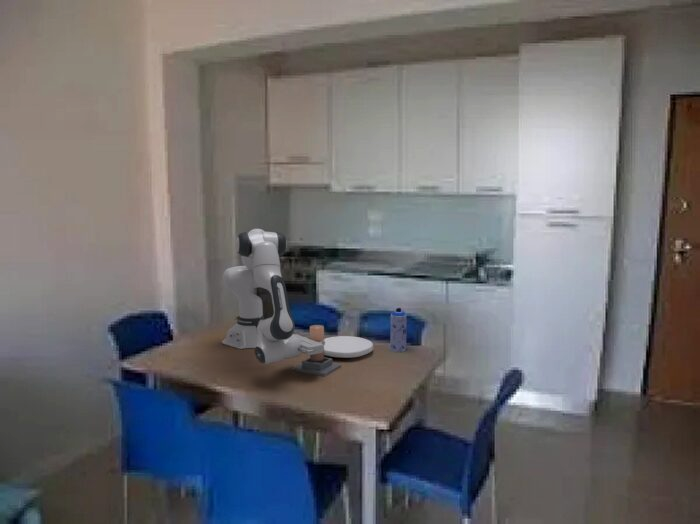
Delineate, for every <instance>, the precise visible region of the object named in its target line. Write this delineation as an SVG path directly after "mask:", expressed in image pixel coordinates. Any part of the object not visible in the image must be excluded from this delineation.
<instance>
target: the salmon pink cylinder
mask: <svg viewBox="0 0 700 524" xmlns="http://www.w3.org/2000/svg"><path fill="white" fill-rule="evenodd" d="M324 326H325V325H322V324H321V325H320V324H314V325H310V326H309V337H310V339H311V340H314V341H316V342H320V341H322V340H323V341H324V339H325V338H324V337H325V327H324ZM324 357H325V355H324V345H323V352H322V353H318V354H313V355H309V358H310V359H311V360H313V361H320V360H323V359H324Z"/></svg>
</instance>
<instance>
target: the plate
mask: <svg viewBox="0 0 700 524" xmlns="http://www.w3.org/2000/svg"><path fill="white" fill-rule="evenodd" d="M324 341H325V345H324V356H327V357H331V358H332V357H333V358H342V359H343V358H344V359H349V358H351V359H353V358H358V357H362V356H365V355H367V354H369V353H371V352H373V350H374V343H373V342H372V341H370V340H369V339H366V338H364V337H358V336H352V335H341V336H339V335H338V336H331V337H330V336H329V337H326V338H324Z"/></svg>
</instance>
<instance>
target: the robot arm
mask: <svg viewBox="0 0 700 524" xmlns="http://www.w3.org/2000/svg"><path fill="white" fill-rule="evenodd" d="M287 247H288V241H287V238H286V235H285V234H284V233H282V232H278V231H275V232H273V231H265V230H264V229H262V228H253V229H251V230H250V231H249V232H247V231H245V232H241V233H239V234H238V235H237V237H236V240H235V250H236V251H237V254H239V256H241V262H242V264H243V265H237V266H231V267H228V268H226V269H225V270H224V271H223V274H222V283H223V284H224V287H226V288H227V289H229V290H230V291H231V292H232V293H233V294H234V295H235V296H236V299H237V302H238V309H239V315H238V316H236V317H235V319H234V320H235V321H237V322H236V323H235V324H234V325H233V326H231V327H230V328H229V329H228V330H227V333H226V337H225V338H224V339H222V341H221V344H224V345H226V346H230V347H232V348H236V349H239V350H244V349H254V350H253V351H254V354H255V357H256V359H257V360H258V362H260V363H261V364H265V365H268V364H273V363H278V362H281V361H284V360H291V359H295V358H299V357H300V355H301V354H302V353H303V354H305V355H307V356H310V355H313V354H318V353H322V352H323V345H325V341H323V340H322V341H320V342H316V341H314V340H311V339H310V336H302V335H300V334H297V333H296V334H295V333H294V332H295V329H296V327H295V326H296V325H295V321H294V319H293V317H292V314H291V310H290V305H289V299H288V294H287V293H288V292H287V286H286V283H285V280H284V279H283V277H282V273H281V272H282V271H281V262H280V256H284V254H285V253H286V251H287ZM255 288H262V289H265V290H266V291H268V292H269V293H270V296H271V303H272V307H273V314H272V316H271V317H267V318H264V317H265V316H264V313H263V312H264V311H263V309H264V308H263V307H264V306H263V300H262V298H261V297H260V296H258V295H256V294H254V293H252V292H251V291H250V289H255Z"/></svg>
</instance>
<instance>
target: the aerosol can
mask: <svg viewBox="0 0 700 524" xmlns="http://www.w3.org/2000/svg"><path fill="white" fill-rule="evenodd" d="M389 325H390V338H389V339H390V340H389V341H390V343H389V345H390V346H389V350H390V351H392V352H395V353H402V352H403V353H404V352H406V351H407V313H405V311H403V310H402V308H401V307H397V308H395V310H394V311H393V312H391V314H390V324H389Z"/></svg>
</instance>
